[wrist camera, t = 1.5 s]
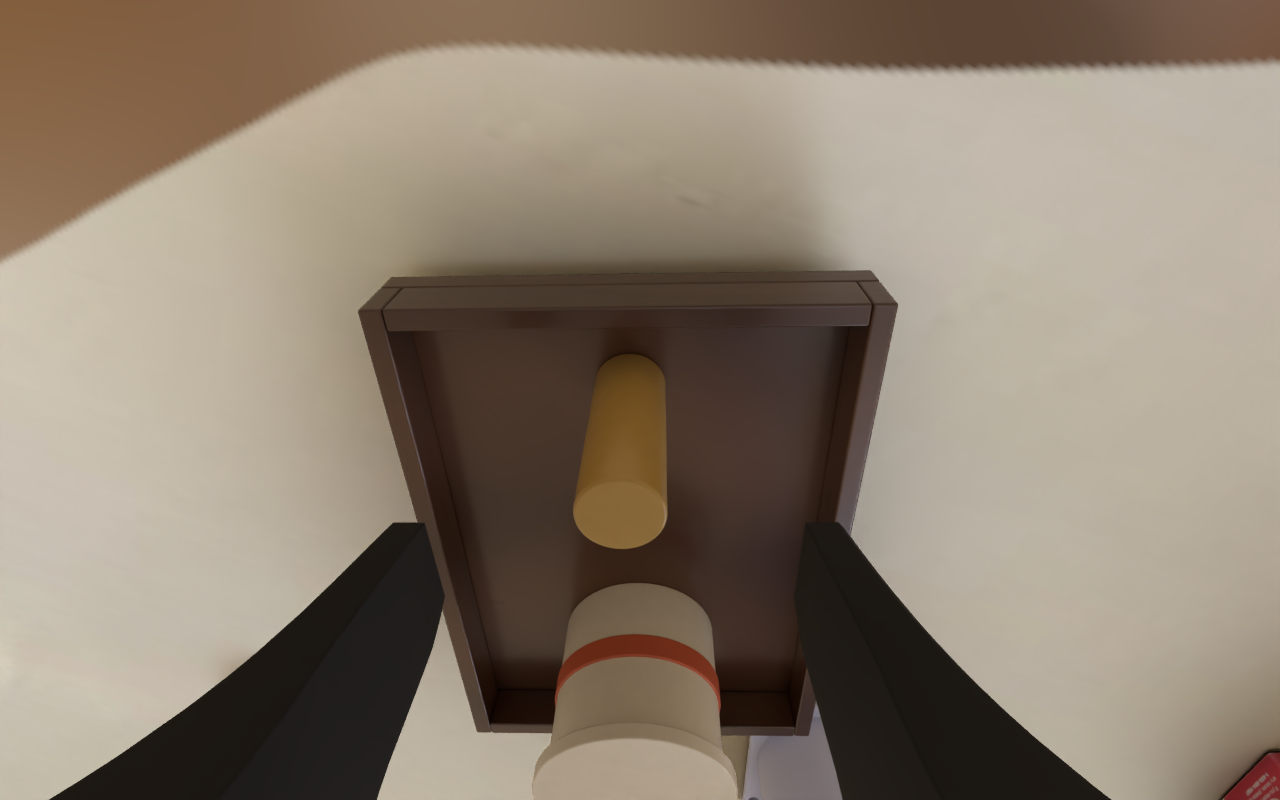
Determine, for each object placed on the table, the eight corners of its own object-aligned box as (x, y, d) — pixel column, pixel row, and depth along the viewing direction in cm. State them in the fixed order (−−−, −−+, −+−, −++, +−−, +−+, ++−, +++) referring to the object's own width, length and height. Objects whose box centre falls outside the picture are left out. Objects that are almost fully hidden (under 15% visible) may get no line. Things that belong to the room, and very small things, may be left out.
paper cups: (718, 682, 25) (732, 847, 20) (566, 681, 25) (543, 844, 20) (725, 575, 22) (744, 740, 17) (550, 574, 22) (519, 737, 17)
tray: (798, 682, 26) (834, 855, 21) (489, 680, 27) (447, 848, 21) (871, 269, 17) (971, 391, 11) (390, 276, 17) (269, 396, 12)
